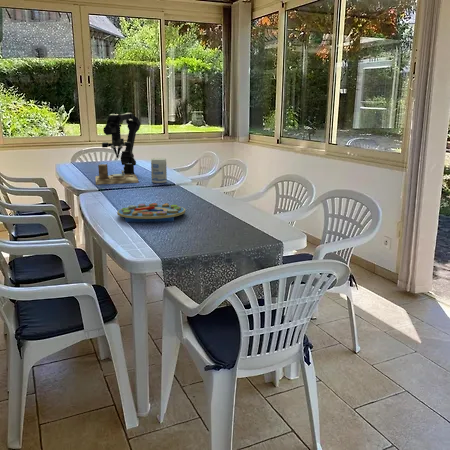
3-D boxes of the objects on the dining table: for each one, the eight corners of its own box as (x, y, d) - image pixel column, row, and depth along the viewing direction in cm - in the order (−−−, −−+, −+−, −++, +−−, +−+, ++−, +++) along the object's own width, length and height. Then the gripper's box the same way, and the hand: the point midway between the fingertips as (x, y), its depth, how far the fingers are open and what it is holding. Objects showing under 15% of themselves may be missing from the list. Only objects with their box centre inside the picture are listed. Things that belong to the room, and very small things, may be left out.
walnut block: (108, 179, 280) (107, 164, 278) (106, 180, 276) (105, 165, 273) (101, 179, 280) (100, 164, 277) (99, 180, 276) (98, 165, 273)
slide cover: (124, 174, 295) (123, 170, 294) (124, 176, 289) (124, 171, 288) (113, 175, 293) (112, 170, 292) (113, 177, 287) (113, 172, 286)
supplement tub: (152, 183, 276) (151, 160, 272) (150, 181, 284) (149, 158, 280) (168, 182, 279) (167, 159, 274) (165, 180, 287) (164, 157, 283)
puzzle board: (135, 176, 299) (135, 172, 298) (138, 182, 279) (138, 177, 278) (95, 178, 292) (95, 173, 291) (95, 184, 272) (95, 179, 271)
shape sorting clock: (187, 208, 217) (186, 196, 215) (183, 225, 188) (183, 212, 186) (124, 208, 216) (123, 196, 214) (111, 226, 187) (110, 212, 185)
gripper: (101, 135, 279) (103, 159, 284) (131, 134, 284) (132, 158, 289) (101, 133, 289) (102, 157, 294) (130, 133, 294) (131, 156, 299)
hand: (117, 157), depth 293 cm, fingers closed
